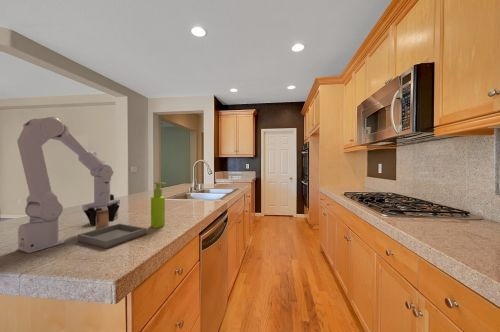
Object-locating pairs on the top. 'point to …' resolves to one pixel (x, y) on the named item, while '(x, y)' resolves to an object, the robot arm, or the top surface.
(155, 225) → the soap dispenser
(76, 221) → the top surface
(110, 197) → the container
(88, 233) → the tray
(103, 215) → the spice jar
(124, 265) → the top surface
